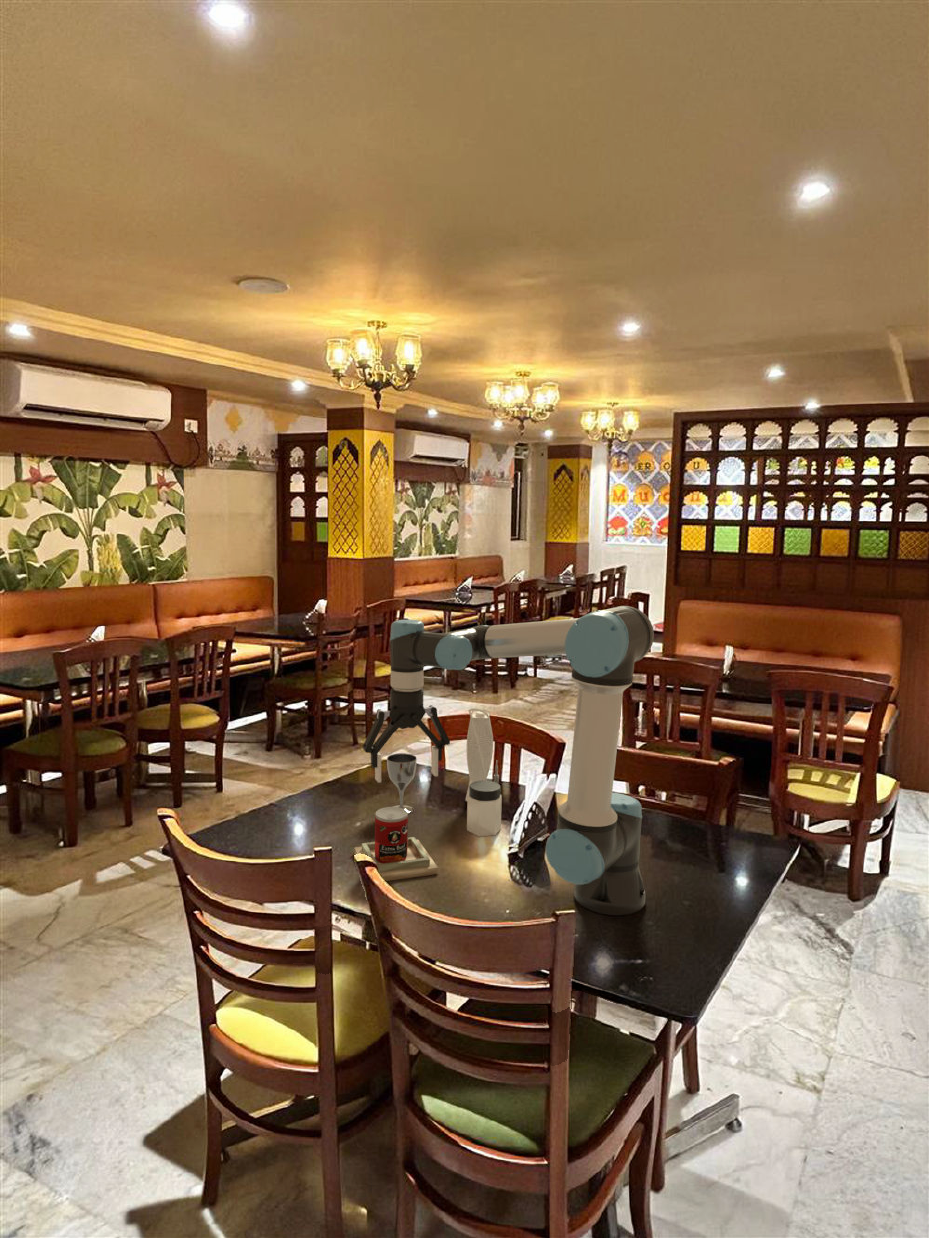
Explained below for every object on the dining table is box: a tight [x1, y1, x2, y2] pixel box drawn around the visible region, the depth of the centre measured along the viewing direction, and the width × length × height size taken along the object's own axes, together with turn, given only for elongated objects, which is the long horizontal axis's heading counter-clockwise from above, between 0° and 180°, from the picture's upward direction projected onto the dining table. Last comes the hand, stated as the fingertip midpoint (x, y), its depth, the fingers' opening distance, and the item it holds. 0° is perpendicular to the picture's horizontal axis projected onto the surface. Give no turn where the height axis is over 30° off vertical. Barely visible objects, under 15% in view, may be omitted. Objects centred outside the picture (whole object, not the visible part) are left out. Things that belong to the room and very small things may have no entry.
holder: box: [353, 836, 439, 882], centre depth 189 cm, size 16×16×3 cm
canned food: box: [374, 806, 409, 864], centre depth 188 cm, size 8×8×11 cm
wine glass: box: [386, 752, 417, 815], centre depth 220 cm, size 8×8×15 cm
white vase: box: [465, 708, 500, 803], centre depth 227 cm, size 8×8×28 cm
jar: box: [466, 780, 503, 837], centre depth 209 cm, size 9×8×12 cm
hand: (406, 777), depth 186 cm, fingers open, 13 cm apart
